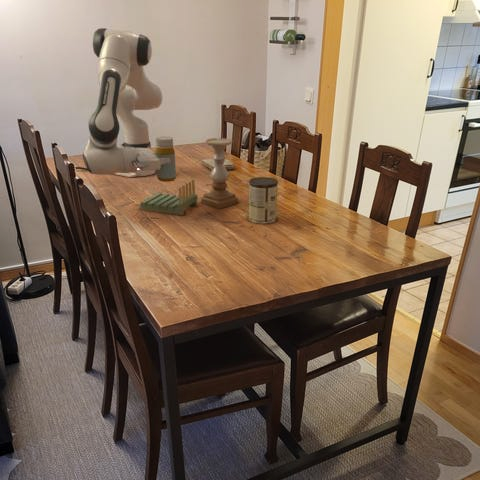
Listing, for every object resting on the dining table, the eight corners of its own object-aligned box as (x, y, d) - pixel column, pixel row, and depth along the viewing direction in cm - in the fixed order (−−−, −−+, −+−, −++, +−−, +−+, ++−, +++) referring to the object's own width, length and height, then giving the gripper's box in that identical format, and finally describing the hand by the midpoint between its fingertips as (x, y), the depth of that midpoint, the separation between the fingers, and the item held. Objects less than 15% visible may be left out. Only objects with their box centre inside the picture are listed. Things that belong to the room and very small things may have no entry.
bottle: (177, 177, 185) (175, 136, 178) (173, 182, 179) (171, 140, 172) (160, 176, 186) (157, 136, 178) (155, 181, 180) (152, 139, 172)
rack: (139, 209, 185) (137, 183, 180) (157, 199, 196) (155, 174, 191) (181, 215, 180) (180, 188, 174) (197, 204, 191) (196, 179, 186)
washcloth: (213, 172, 234) (213, 165, 232) (200, 164, 248) (200, 157, 246) (235, 169, 238) (236, 163, 237) (221, 161, 252) (221, 155, 250)
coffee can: (253, 213, 183) (254, 175, 176) (279, 216, 180) (281, 178, 173) (244, 221, 175) (245, 183, 168) (271, 225, 172) (273, 186, 165)
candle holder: (200, 202, 193) (198, 140, 181) (219, 196, 200) (219, 136, 188) (219, 208, 187) (219, 144, 175) (238, 202, 194) (239, 140, 182)
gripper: (134, 157, 165) (173, 155, 169) (125, 145, 181) (161, 143, 185) (135, 176, 168) (174, 173, 172) (127, 162, 184) (162, 160, 189)
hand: (167, 157), depth 179 cm, fingers closed on bottle, 5 cm apart
